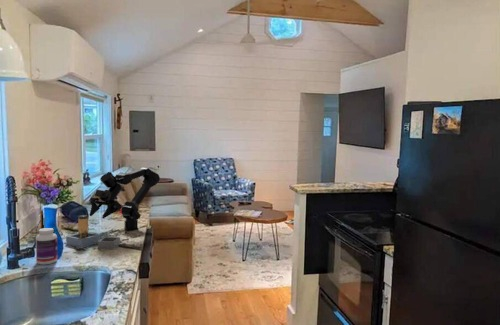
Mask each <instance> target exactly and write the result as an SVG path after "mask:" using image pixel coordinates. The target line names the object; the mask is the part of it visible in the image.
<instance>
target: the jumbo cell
mask: <svg viewBox="0 0 500 325" xmlns="http://www.w3.org/2000/svg"><path fill="white" fill-rule="evenodd" d="M77 220H78V221H77V222H78V226H77V227H78V228H77V229H78V232H77V233H78V238H81V239H83V238H86V237H88V232H89V215H87V214H83V215H78V218H77Z"/></svg>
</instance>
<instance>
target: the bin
mask: <svg viewBox="0 0 500 325" xmlns="http://www.w3.org/2000/svg"><path fill="white" fill-rule="evenodd" d="M99 240H101V235H100V234H99V233H94V232H91V231H90V232H89V231H88V237H86V238H83V239H81V238H78V232H77V233H73V234H70V235H66V237H65V241H66V242H65V243H66V245H69V246H73V247H76V248H81V249H83V248H86V247H89V246H92V245H95V244H98V241H99Z"/></svg>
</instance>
